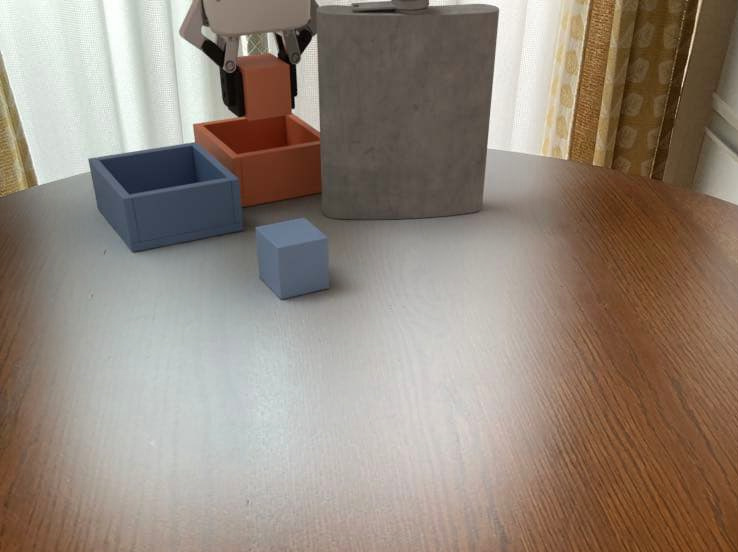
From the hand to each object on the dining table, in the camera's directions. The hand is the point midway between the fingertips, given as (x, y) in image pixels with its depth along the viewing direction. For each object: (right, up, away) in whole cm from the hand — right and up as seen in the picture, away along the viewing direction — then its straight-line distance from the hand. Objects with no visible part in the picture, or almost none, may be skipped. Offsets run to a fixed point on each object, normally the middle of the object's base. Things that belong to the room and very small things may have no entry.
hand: (261, 107), depth 90 cm
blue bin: (-8, -12, -3) cm, 15 cm away
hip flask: (+14, -10, 0) cm, 17 cm away
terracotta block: (0, 0, 0) cm, 0 cm away
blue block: (+5, -21, -12) cm, 24 cm away
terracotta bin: (0, -5, +5) cm, 7 cm away
